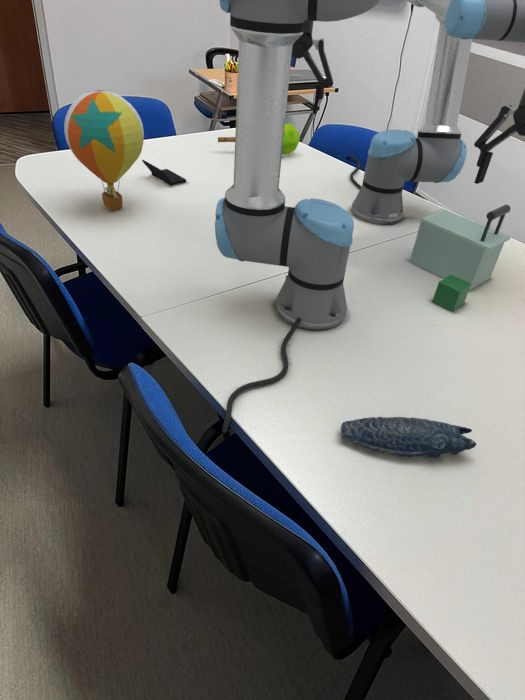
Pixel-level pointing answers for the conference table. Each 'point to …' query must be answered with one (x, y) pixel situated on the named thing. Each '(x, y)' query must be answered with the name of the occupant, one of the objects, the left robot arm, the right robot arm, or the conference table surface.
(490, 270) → the chest
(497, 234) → the lid
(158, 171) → the black angular piece
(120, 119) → the toy
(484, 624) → the conference table surface
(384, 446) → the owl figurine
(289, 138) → the decorative tree
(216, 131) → the conference table surface
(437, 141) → the right robot arm
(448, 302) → the block
